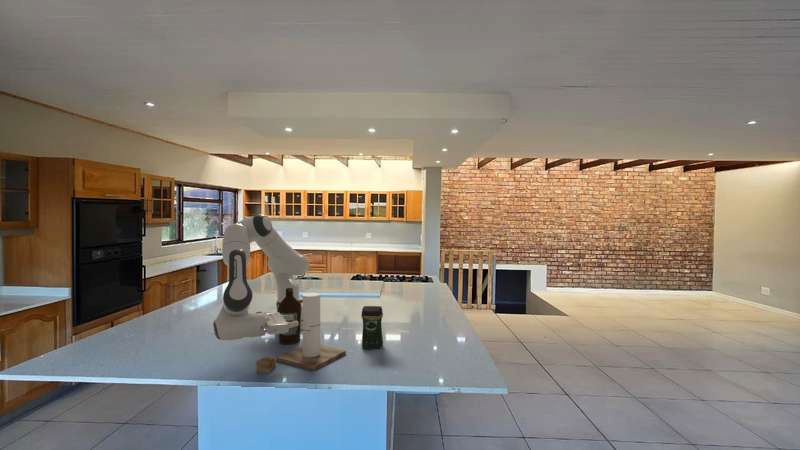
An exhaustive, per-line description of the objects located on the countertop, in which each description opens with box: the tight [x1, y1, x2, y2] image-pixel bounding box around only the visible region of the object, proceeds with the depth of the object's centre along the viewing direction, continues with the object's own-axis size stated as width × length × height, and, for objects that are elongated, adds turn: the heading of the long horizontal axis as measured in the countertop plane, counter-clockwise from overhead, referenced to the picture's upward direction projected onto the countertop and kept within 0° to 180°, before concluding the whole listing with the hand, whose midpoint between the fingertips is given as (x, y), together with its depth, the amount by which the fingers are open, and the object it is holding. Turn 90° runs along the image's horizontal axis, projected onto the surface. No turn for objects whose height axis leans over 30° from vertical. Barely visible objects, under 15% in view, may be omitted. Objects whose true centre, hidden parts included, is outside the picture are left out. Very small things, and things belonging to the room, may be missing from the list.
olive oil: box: [278, 288, 302, 345], centre depth 179 cm, size 11×11×25 cm
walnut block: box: [255, 356, 277, 374], centre depth 147 cm, size 5×5×4 cm
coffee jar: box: [360, 305, 384, 350], centre depth 172 cm, size 10×8×19 cm
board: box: [276, 344, 347, 372], centre depth 159 cm, size 20×20×2 cm
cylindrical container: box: [302, 292, 321, 357], centre depth 159 cm, size 7×7×25 cm
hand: (295, 320), depth 155 cm, fingers open, 8 cm apart
